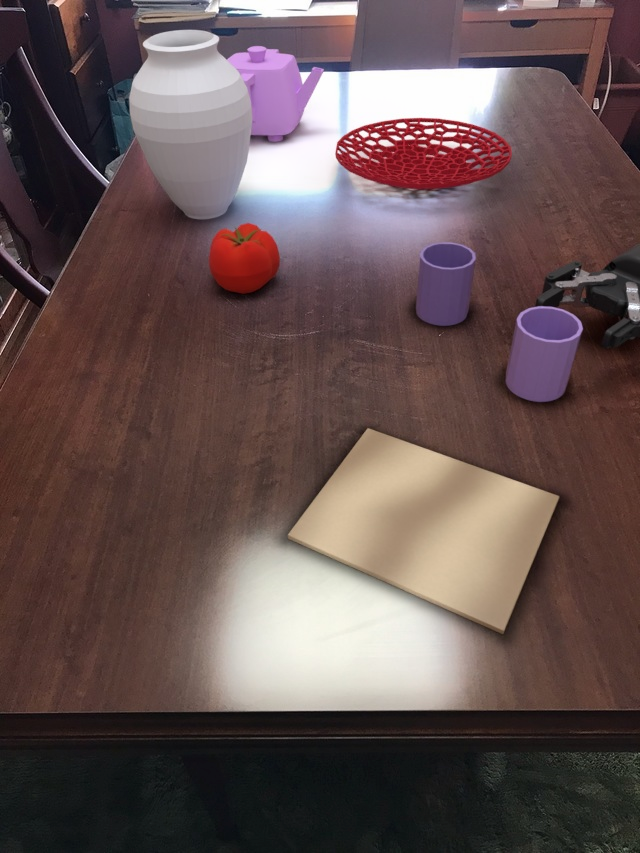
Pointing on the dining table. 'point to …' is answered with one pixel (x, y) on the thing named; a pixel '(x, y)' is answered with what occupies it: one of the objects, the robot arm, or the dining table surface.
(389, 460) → the mat
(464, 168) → the bowl
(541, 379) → the lavender cup
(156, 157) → the vase
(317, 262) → the dining table surface
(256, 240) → the tomato
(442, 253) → the lilac cup
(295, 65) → the teapot
